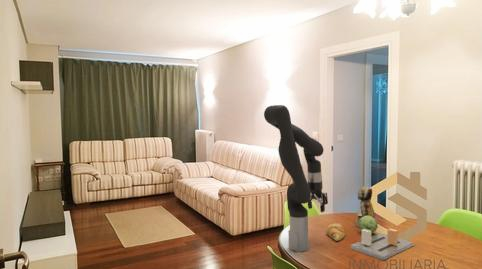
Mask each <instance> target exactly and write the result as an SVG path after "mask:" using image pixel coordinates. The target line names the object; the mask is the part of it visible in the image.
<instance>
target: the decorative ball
mask: <svg viewBox="0 0 482 269" xmlns="http://www.w3.org/2000/svg"><path fill="white" fill-rule="evenodd" d="M358 228H359V230H362V229H367V230H370V231H371V235H372V234H374V233H375V232H376V231H377V229H378V222H377V220H376V218H375V219H374V218H373V217H371V216H364V217H362V218H361V219H360V221H359V227H358Z"/></svg>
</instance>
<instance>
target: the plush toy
mask: <svg viewBox="0 0 482 269" xmlns="http://www.w3.org/2000/svg"><path fill="white" fill-rule="evenodd" d="M357 191H358V192H357V193H356V194H357V199H358V200H360V204H359V205H360V206H359V210H357V213H356V215H357V218H356V221H355V224H354V225H355V227H357V228H359V221H360V219H361V218H362V217H364V216H371V217H373V218H374V219H375V220H376V218H375V217H376V213H375V210H374V207H373V206H374V205H373V203H372V201H371V200H372V197H373V189H372V188H369V187H367V186H361V187H360V188H359V189H358V190H357Z"/></svg>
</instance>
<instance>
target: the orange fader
mask: <svg viewBox="0 0 482 269" xmlns="http://www.w3.org/2000/svg"><path fill="white" fill-rule="evenodd" d="M398 231H399V230H396V229H395V228H394V229H393V228H388V229H387V234H386V235H387V237H388V243H389V244H392V245H397V244H398V238H399V236H398V235H399V234H398V233H399V232H398Z"/></svg>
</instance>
